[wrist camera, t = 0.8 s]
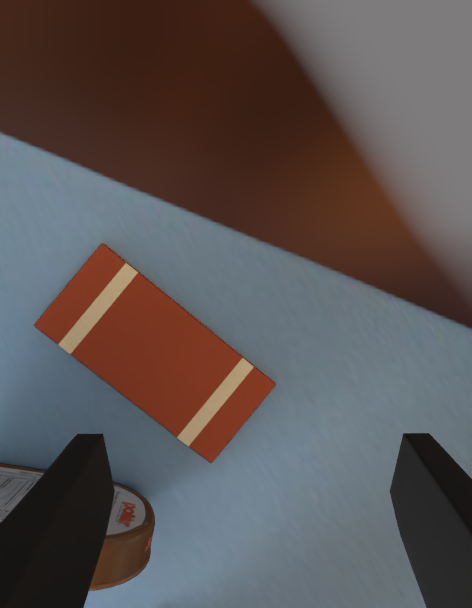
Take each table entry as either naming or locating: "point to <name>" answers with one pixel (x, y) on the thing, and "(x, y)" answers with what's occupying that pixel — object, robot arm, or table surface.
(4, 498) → the tin
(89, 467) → the robot arm
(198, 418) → the towel
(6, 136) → the table surface
